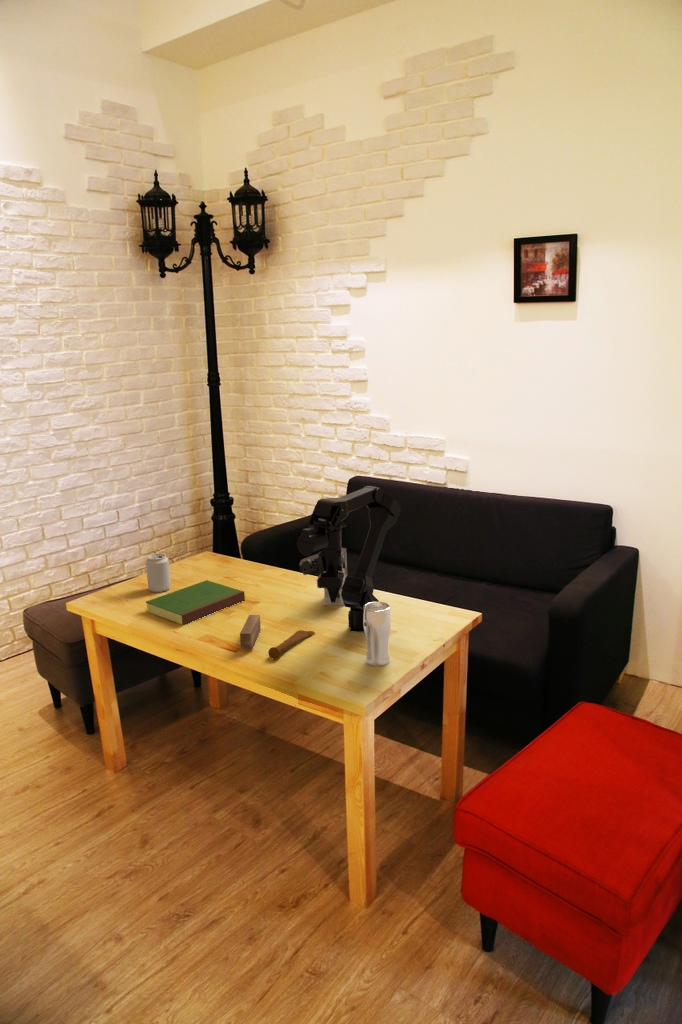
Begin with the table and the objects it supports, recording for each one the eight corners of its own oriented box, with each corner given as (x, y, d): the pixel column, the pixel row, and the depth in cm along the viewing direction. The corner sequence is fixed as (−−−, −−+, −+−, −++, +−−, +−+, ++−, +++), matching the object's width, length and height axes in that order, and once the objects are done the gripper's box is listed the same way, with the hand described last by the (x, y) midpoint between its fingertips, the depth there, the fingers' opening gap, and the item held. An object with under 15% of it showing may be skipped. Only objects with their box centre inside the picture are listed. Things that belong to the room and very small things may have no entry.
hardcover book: (183, 627, 209) (182, 615, 208) (146, 612, 221) (145, 601, 220) (246, 601, 228) (245, 590, 227) (209, 590, 240) (208, 579, 239)
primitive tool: (299, 631, 203) (298, 620, 202) (316, 634, 201) (316, 622, 200) (267, 660, 186) (266, 647, 185) (285, 663, 184) (284, 650, 183)
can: (175, 588, 240) (172, 554, 238) (157, 594, 235) (153, 560, 232) (162, 584, 245) (159, 551, 242) (144, 590, 240) (140, 556, 237)
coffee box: (329, 594, 230) (327, 547, 226) (348, 595, 229) (347, 547, 225) (324, 605, 221) (321, 555, 217) (344, 605, 220) (342, 556, 216)
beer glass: (386, 668, 178) (385, 612, 174) (360, 664, 180) (358, 609, 177) (395, 657, 184) (394, 603, 180) (370, 653, 187) (368, 599, 183)
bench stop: (260, 631, 203) (259, 614, 202) (252, 650, 191) (250, 633, 189) (250, 631, 203) (249, 614, 202) (241, 650, 191) (239, 633, 190)
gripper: (304, 536, 197) (307, 589, 200) (296, 557, 179) (299, 615, 182) (344, 536, 196) (346, 589, 200) (340, 556, 178) (342, 614, 182)
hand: (333, 601), depth 191 cm, fingers closed
